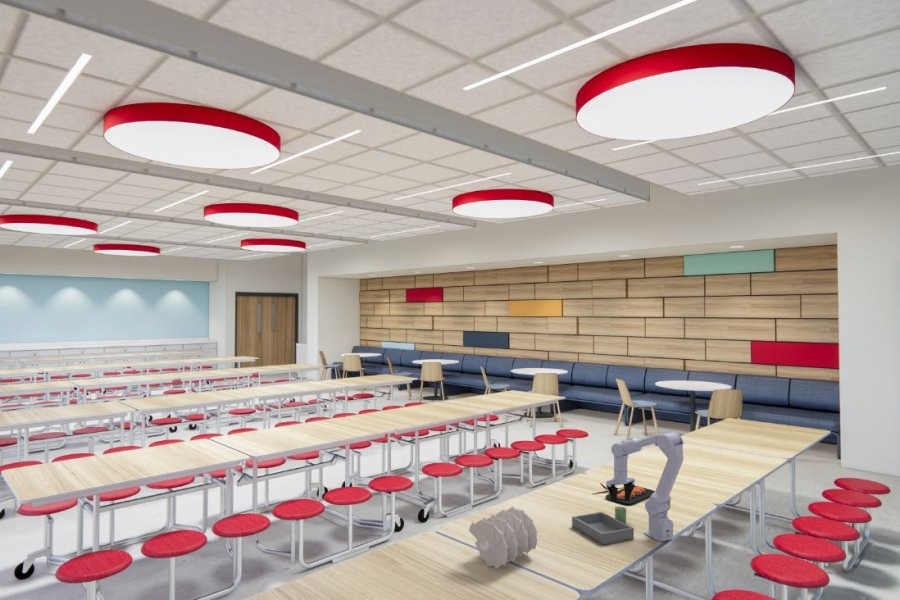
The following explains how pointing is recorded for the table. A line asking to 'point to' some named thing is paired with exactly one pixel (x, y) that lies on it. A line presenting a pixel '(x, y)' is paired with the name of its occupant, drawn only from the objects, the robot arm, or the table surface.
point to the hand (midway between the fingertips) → (620, 500)
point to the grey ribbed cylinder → (504, 536)
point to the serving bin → (602, 528)
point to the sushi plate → (635, 496)
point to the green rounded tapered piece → (620, 514)
